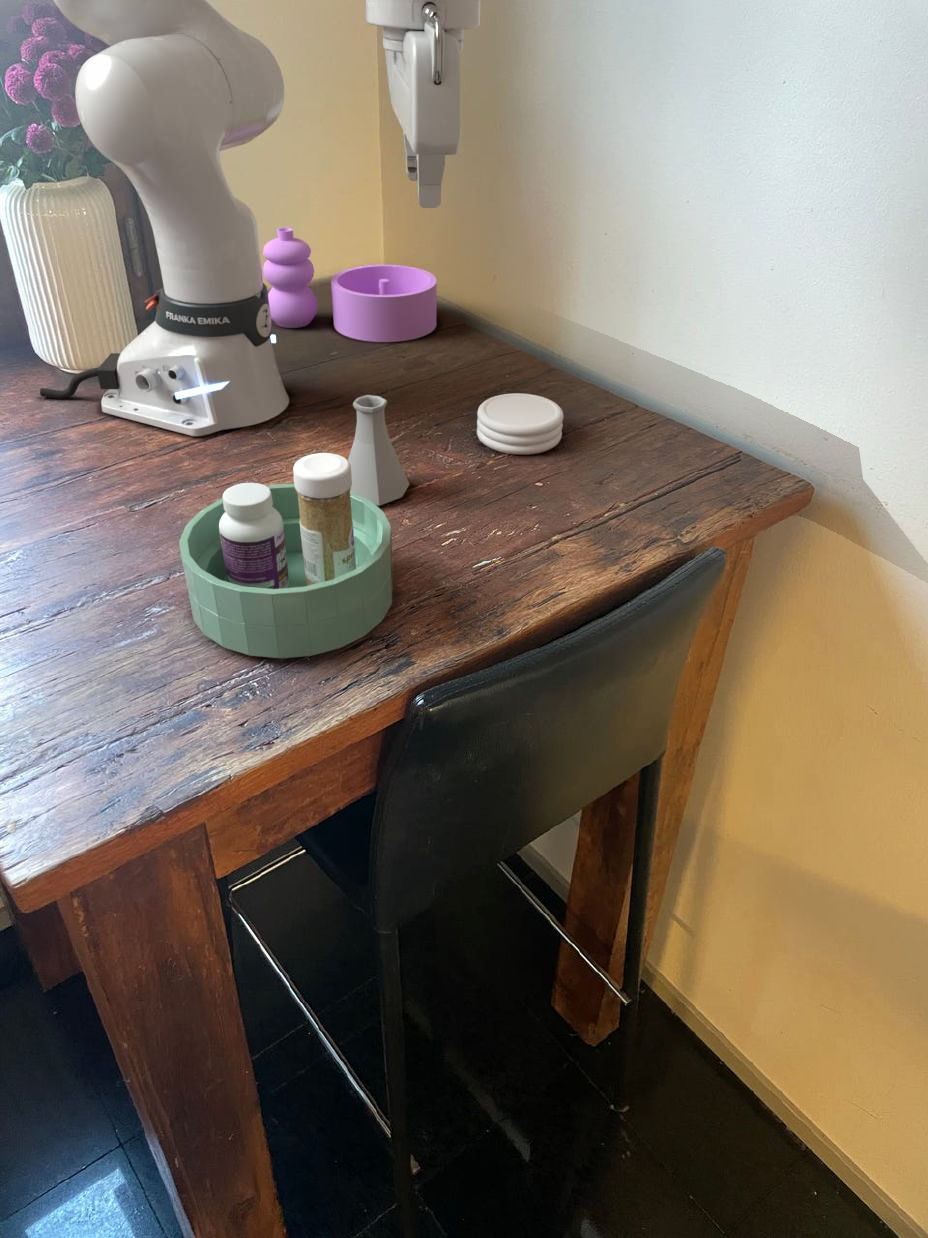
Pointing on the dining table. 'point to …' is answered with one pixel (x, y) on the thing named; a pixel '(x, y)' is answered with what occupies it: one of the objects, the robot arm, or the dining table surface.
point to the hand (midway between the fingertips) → (422, 191)
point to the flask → (375, 455)
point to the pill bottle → (253, 538)
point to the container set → (350, 294)
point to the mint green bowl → (299, 611)
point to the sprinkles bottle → (325, 516)
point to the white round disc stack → (519, 423)
